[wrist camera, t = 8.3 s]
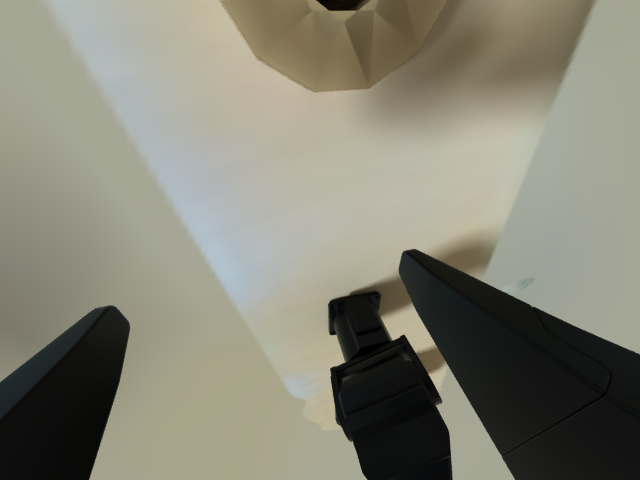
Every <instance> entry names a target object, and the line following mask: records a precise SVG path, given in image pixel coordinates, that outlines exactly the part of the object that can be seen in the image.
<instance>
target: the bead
mask: <svg viewBox="0 0 640 480" xmlns="http://www.w3.org/2000/svg"><path fill="white" fill-rule="evenodd" d="M219 1H220V2H221V4H222V6H223V7H224V9H225V10H226V12H227V13H228V15H229V17H230V18H231V20H232V21H233V23H234V24H235V26H236V27H237V29H238V31H239V32H240V34H241V35H242V37H243V38H244V40H245V42H246V43H247V45H248V46H249V48H250V49H251V51H252V53H253V54H254V56H255V57H256V58H257V60H259V61H261V62H262V63H264V64H266V65H267V66H269V67H271V68H272V69H274V70H276V71H277V72H279V73H281V74H282V75H284V76H286V77H287V78H289V79H291V80H292V81H294V82H296V83H297V84H299V85H301V86H302V87H304V88H307V89H309V90H311V91H313V92H326V91H340V90H355V89H369V88H370V87H372V86H373V85H374V84H376V83H377V82H378V81H380V80H381V79H382V78H384V77H385V76H386V75H388V74H389V73H390V72H392V71H393V70H394V69H396V68H397V67H398V66H400V65H401V64H402V63H404V62H405V61H406V60H408V59H409V58H410V57H411V56H413V55H414V54H415V53H417V52H418V51H419V50H420V48H421V46H422V44H423V42H424V41H425V39H426V37H427V35H428V34H429V32H430V30H431V28H432V27H433V25H434V23H435V21H436V20H437V18H438V16H439V14H440V12H441V11H442V9H443V7H444V5H445V4H446V2H447V0H358V1H357V4H356V5H355V6H354V7H353V8H351V9H350V10H349V11H329V10H327V9H326V8H325V7H324V6H322V5H321V4H320V3H319V2H317V1H316V0H219Z"/></svg>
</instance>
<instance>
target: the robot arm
mask: <svg viewBox="0 0 640 480" xmlns="http://www.w3.org/2000/svg"><path fill="white" fill-rule="evenodd" d="M399 274H400V276H401V278H402V281H403V283H404V285H405V287H406V289H407V292H408V294H409V296H410V298H411V300H412V303H413V305H414V307H415V309H416V311H417V313H418V315H419V317H420V318H421V320H422V322H423V323H424V325H425V327H426V329H427V330H428V332H429V334H430V335H431V337H432V339H433V340H434V342H435V344H436V346H437V347H438V349H439V351H440V352H441V354H442V356H443V357H444V359H445V361H446V363H447V364H448V366H449V368H450V369H451V371H452V373H453V374H454V376H455V378H456V380H457V381H458V383H459V385H460V386H461V388H462V390H463V391H464V393H465V395H466V396H467V398H468V400H469V402H470V403H471V405H472V407H473V408H474V410H475V412H476V413H477V415H478V417H479V418H480V420H481V422H482V423H483V425H484V427H485V429H486V430H487V432H488V434H489V436H490V437H491V439H492V441H493V442H494V444H495V446H496V448H497V449H498V451H499V453H500V454H501V455H502V458H503V460H504V461H505V463H506V464H507V467H508V468H509V470H510V472H511V473H512V475H513V477H514V479H515V480H640V354H638V353H635V352H633V351H631V350H628V349H626V348H623V347H621V346H619V345H617V344H614V343H612V342H610V341H607V340H605V339H603V338H600V337H598V336H596V335H594V334H591V333H589V332H587V331H585V330H582V329H580V328H578V327H575V326H573V325H571V324H569V323H567V322H565V321H563V320H561V319H558V318H556V317H554V316H552V315H550V314H548V313H546V312H544V311H541V310H540V309H538V308H536V307H532V306H531V305H529V304H527V303H525V302H523V301H521V300H519V299H517V298H515V297H513V296H511V295H509V294H507V293H505V292H503V291H501V290H498V289H496V288H494V287H492V286H490V285H488V284H486V283H484V282H482V281H480V280H478V279H476V278H474V277H472V276H470V275H468V274H466V273H464V272H462V271H459V270H457V269H455V268H453V267H451V266H449V265H447V264H445V263H443V262H441V261H439V260H437V259H435V258H433V257H431V256H429V255H427V254H425V253H423V252H420V251H418V250H416V249H411V250H406V251H404V252H403V253H402V256H401V261H400V265H399ZM380 299H381V295H380V293H379V292H373V293H368V294H364V295H359V296H354V297H350V298H345V299H341V300H336V301H332V302H330V303H329V304H328V319H329V334H330V335H337V338H338V341H339V344H340V347H341V350H342V353H343V357H344V360H345V363H343V364H341V365H339V366H337V367H335V366H334V367H332V368H330V370H331V383H332V390H333V396H334V403H335V417H336V422H337V424H338V425H340V426H341V427H342V428H343V431H344V433H345V435H346V437H347V438H348V440H349V441H351V442H352V441H353V444H354V446H355V449H356V452H357V455H358V459H359V463H360V466H361V469H362V472H363V474H364V476H365V477H366V478H367V480H452V465H451V450H450V436H449V431H448V428H447V426H446V424H445V422H444V420H443V419H442V417H441V415H440V413H439V411H438V409H437V407H436V405H438V404H441V403H442V400H441V397H440V396H439V393H438V391H437V389H436V387H435V385H434V384H433V382H432V380H431V378H430V376H429V375H428V373H427V371H426V369H425V368H424V366H423V364H422V363H421V361H420V359H419V358H418V356H417V355H416V353H415V351H414V350H413V348H412V346H411V345H410V343H409V341H408V340H407V338H406V336H405V335H402V336H400V338H398V339H396V340H392V338H391V336H390V335H389V333H388V331H387V329H386V327H385V325H384V323H383V321H382V319H381V317H380V315H379V313H378V310H379V304H380ZM129 332H130V324H129V322H128V320H127V319H126V318H125V317H124V316H123V315H122V313H121V312H120V311H119V310H118V309H117V308H116V307H115V306H113V305H112V306H110V305H109V306H104V307H99V308H95V309H94V310H92V311H91V312H90V313H88V314H87V315H86V316H84V317H83V318H82V319H80V320H79V321H78V322H77V323H75V324H74V325H73V326H72V327H70V328H69V329H68V330H66V331H65V332H64V333H63V334H61V335H60V336H59V337H57V338H56V339H55V340H54V341H53V342H51V343H50V344H48V345H47V346H46V347H45V348H43V349H42V350H41V351H40V352H38V353H37V354H36V355H34V356H33V357H32V358H31V359H29V360H28V361H27V362H25V363H24V364H23V365H22V366H20V367H19V368H18V369H16V370H15V371H14V372H13V373H11V374H10V375H9V376H8V377H6V378H5V379H4V380H3V381H1V382H0V480H89V478H90V475H91V472H92V469H93V466H94V463H95V459H96V456H97V453H98V450H99V447H100V443H101V440H102V437H103V434H104V431H105V427H106V424H107V421H108V418H109V415H110V411H111V408H112V405H113V402H114V399H115V395H116V392H117V389H118V385H119V382H120V377H121V373H122V368H123V363H124V358H125V352H126V347H127V342H128V337H129ZM409 359H410V361H408V362H405V361H407V360H409Z"/></svg>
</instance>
